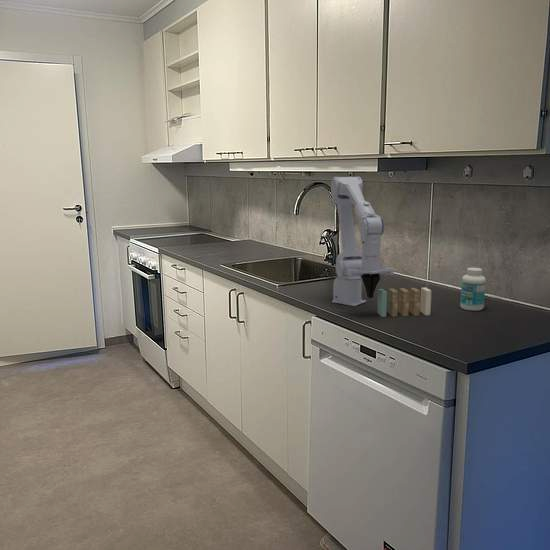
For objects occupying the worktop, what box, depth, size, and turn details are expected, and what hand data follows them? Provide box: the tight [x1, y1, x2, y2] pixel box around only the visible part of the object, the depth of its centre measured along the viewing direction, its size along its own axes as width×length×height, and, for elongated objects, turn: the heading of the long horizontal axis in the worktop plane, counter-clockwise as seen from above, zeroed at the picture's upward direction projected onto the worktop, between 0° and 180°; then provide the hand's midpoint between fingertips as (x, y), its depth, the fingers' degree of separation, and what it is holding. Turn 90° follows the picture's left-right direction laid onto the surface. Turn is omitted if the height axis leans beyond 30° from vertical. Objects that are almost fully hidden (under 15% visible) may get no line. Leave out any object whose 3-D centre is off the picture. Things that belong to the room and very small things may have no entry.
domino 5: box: [419, 287, 432, 316], centre depth 172 cm, size 2×5×8 cm, turn 5°
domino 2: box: [387, 288, 399, 317], centre depth 171 cm, size 2×5×8 cm, turn 5°
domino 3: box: [398, 287, 410, 317], centre depth 171 cm, size 2×5×8 cm, turn 5°
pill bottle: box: [459, 267, 487, 312], centre depth 176 cm, size 8×7×14 cm
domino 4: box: [409, 287, 421, 317], centre depth 171 cm, size 2×5×8 cm, turn 5°
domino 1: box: [376, 288, 388, 318], centre depth 170 cm, size 2×5×8 cm, turn 5°
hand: (369, 297), depth 170 cm, fingers closed
